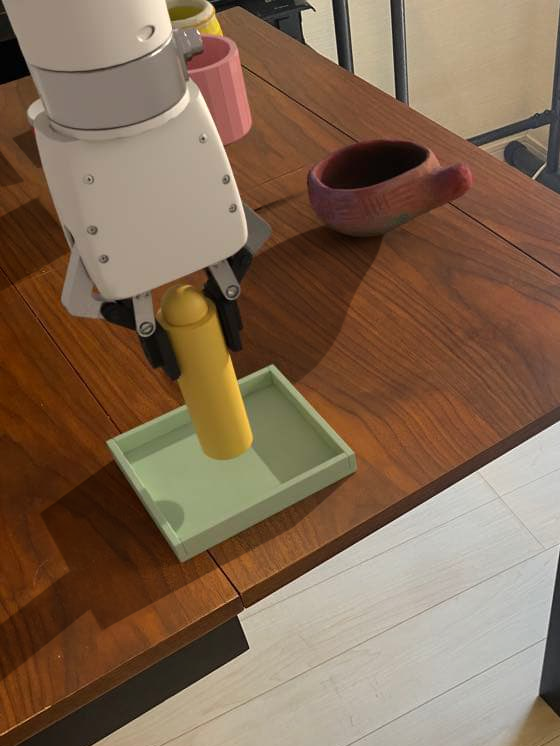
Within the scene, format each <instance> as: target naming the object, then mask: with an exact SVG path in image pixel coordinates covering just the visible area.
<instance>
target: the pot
mask: <svg viewBox="0 0 560 746" xmlns="http://www.w3.org/2000/svg"><path fill="white" fill-rule="evenodd" d="M200 37H201V40H202V43H203V49H204V51H203V54H201V55H198V56H194V57H192V60H191V61H188V62H187V72H188V76H189V77H190V78H191V79H192V81H193V82H194V83H195V84H196V85H197V86H198V88H199V90H200V92H201V94H202V96H203V98H204V100H205V103H206V105H207V107H208V109H209V112H210V114H211V116H212V119H213V121H214V124H215V126H216V128H217V131H218V134H219V136H220V139H221V141H222V144H223V147H225V146H227V145H231V144H232V143H235V142H236V141H239V140H240V139H242V138H243V137H244V136H246V135H247V134H248V133H249V131H250V129H251V128H252V123H253V119H252V114H251V109H250V105H249V99H248V95H247V90H246V85H245V84H246V83H245V80H244V79H245V78H244V75H243V70H242V64H241V59H240V54H239V49H238V46H237V44H236V42H235V41H234V40H232V39H231V38H230V37H227V36H224V35H223V36H220V35H215V34H200Z"/></svg>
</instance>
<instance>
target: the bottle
mask: <svg viewBox="0 0 560 746" xmlns="http://www.w3.org/2000/svg"><path fill="white" fill-rule="evenodd" d="M155 318H156V320H157V321H158V322H159V323H160V325H161V326H162V327H163V328H164V330H165V331H166V333H167V335H168V338H169V341H170V344H171V346H172V349H173V352H174V355H175V358H176V361H177V364H178V367H179V369H180V372H181V376H179V377H180V378H179V379H177V380H176V381H177V383H178V387H179V389H180V392H181V395H182V397H183V400H184V403H185V405H186V406H187V409H188V412H189V415H190V417H191V420H192V423H193V426H194V429H195V431H196V434H197V437H198V440H199V443H200V445H201V448H202V451H203V452H204V454H205V455H207V456H208V457H210V458H212V459H216V460H229V459H233V458H236V457H238V456H240V455H242V454H243V453H245V452H246V451H247V450H248V449H249V447H250V446H251V444H252V440H253V436H252V432H251V429H250V425H249V422H248V418H247V414H246V411H245V407H244V404H243V400H242V397H241V393H240V390H239V386H238V383H237V380H238V379H237V375H236V373H235V372H236V371H235V368H234V366H233V362H232V359H231V354H230V350H229V348H228V347H227V344H226V340H225V337H224V333H223V330H222V326H221V323H220V319H219V315H218V312H217V308H216V305H215V304H214V303H213V301H212V300H211V299H209V298H207V297H205V296H204V293H203V292H202V291H200V290H199V289H198V288H197V287H195V286H193V285H191V284H187V283H177V284H173V285H172V286H170V287H169V288H168V289H166V290H165V291H164V293H163V294H162V297H161V300H160V308H158V310H157V312H156V314H155Z"/></svg>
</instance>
